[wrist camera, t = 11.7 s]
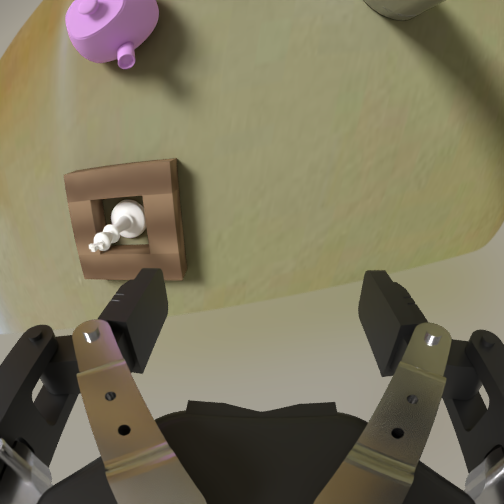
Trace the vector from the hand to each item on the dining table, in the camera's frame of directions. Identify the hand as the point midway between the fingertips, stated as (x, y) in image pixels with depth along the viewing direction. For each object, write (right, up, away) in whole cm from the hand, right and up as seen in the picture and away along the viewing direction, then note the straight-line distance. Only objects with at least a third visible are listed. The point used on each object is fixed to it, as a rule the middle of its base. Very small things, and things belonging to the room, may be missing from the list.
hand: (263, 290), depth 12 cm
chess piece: (-16, +6, +24) cm, 29 cm away
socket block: (-16, +6, +24) cm, 29 cm away
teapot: (-15, +28, +15) cm, 35 cm away
